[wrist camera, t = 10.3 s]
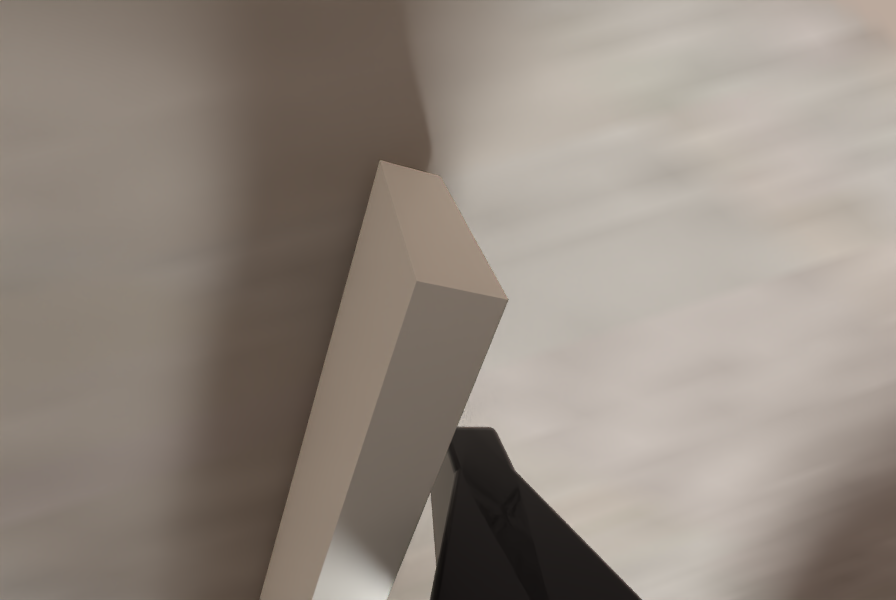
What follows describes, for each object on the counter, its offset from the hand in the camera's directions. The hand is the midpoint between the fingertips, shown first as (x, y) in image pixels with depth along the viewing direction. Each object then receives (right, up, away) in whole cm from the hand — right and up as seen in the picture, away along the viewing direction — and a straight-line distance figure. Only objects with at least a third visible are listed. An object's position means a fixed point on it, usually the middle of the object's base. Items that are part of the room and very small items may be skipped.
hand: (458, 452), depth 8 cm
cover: (-3, -2, +3) cm, 4 cm away
